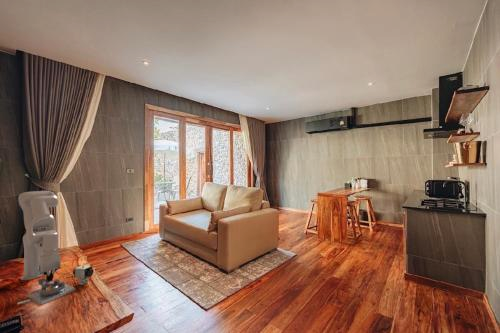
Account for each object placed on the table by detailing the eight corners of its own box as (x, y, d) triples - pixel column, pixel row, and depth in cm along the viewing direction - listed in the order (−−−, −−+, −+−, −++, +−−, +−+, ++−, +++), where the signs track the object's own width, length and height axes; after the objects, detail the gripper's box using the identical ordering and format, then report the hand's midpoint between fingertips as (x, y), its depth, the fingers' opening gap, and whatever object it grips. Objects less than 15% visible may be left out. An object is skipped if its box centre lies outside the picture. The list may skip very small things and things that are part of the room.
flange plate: (14, 303, 121) (14, 300, 121) (62, 284, 140) (62, 282, 141) (26, 310, 114) (26, 308, 114) (75, 290, 133) (75, 287, 133)
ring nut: (28, 289, 132) (28, 282, 132) (51, 280, 142) (51, 274, 142) (45, 297, 122) (45, 290, 123) (68, 288, 132) (68, 281, 132)
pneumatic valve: (87, 286, 138) (87, 267, 138) (72, 284, 140) (72, 266, 141) (94, 282, 143) (95, 264, 144) (80, 280, 146) (80, 262, 146)
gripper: (61, 247, 147) (61, 274, 147) (32, 255, 134) (31, 285, 133) (67, 249, 144) (66, 277, 143) (37, 257, 130) (37, 287, 130)
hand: (49, 280), depth 138 cm, fingers closed
